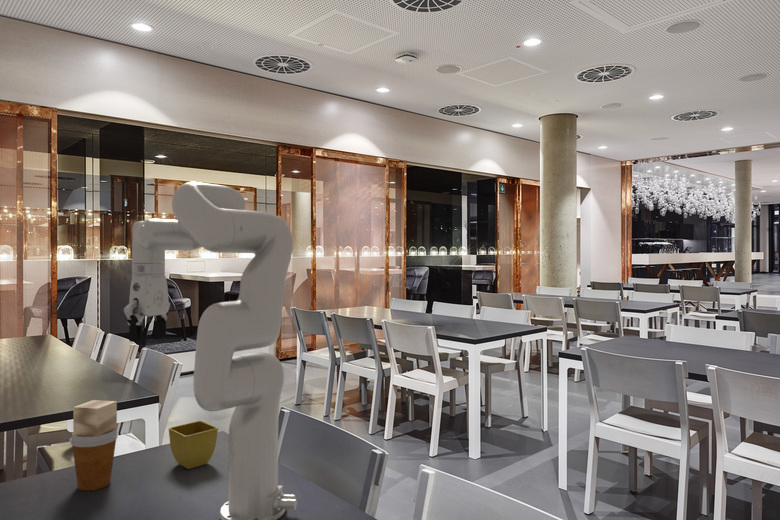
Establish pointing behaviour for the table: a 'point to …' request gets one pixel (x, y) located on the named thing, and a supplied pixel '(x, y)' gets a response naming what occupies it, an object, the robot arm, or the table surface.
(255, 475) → the robot arm
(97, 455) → the disposable coffee cup
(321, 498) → the table surface
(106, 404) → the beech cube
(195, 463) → the flower pot
